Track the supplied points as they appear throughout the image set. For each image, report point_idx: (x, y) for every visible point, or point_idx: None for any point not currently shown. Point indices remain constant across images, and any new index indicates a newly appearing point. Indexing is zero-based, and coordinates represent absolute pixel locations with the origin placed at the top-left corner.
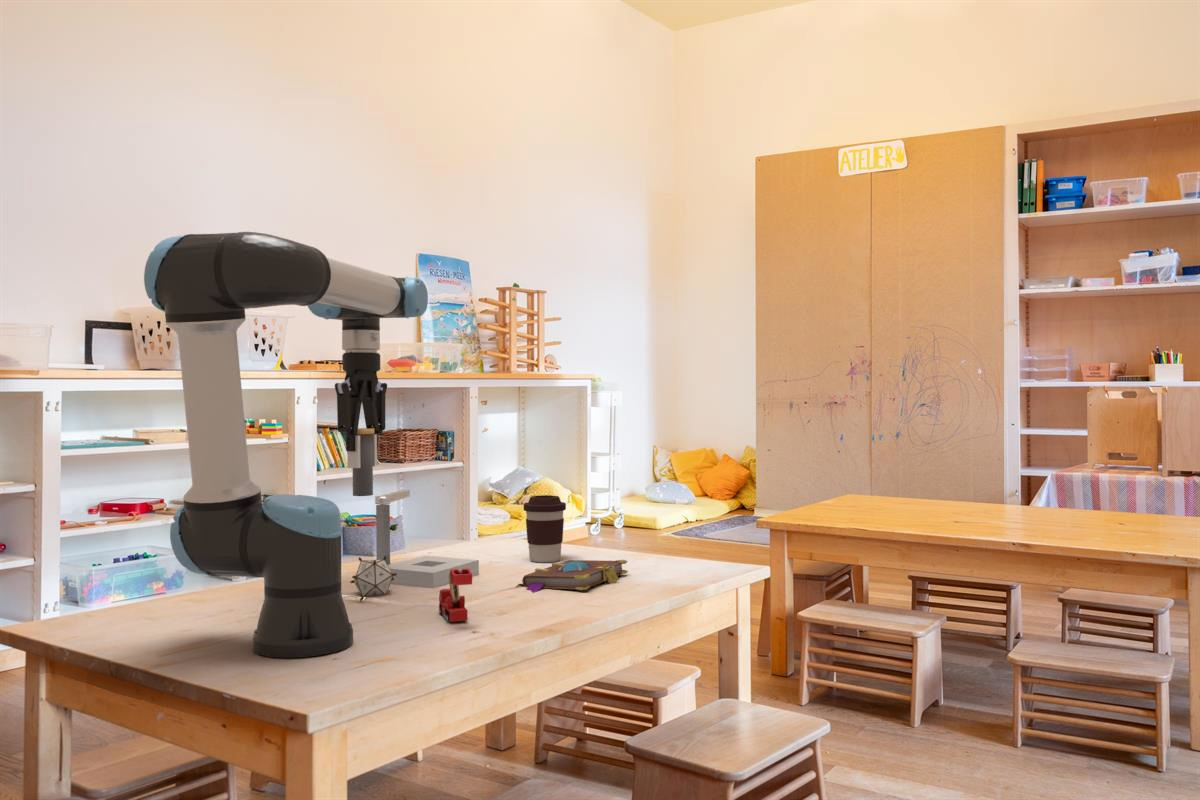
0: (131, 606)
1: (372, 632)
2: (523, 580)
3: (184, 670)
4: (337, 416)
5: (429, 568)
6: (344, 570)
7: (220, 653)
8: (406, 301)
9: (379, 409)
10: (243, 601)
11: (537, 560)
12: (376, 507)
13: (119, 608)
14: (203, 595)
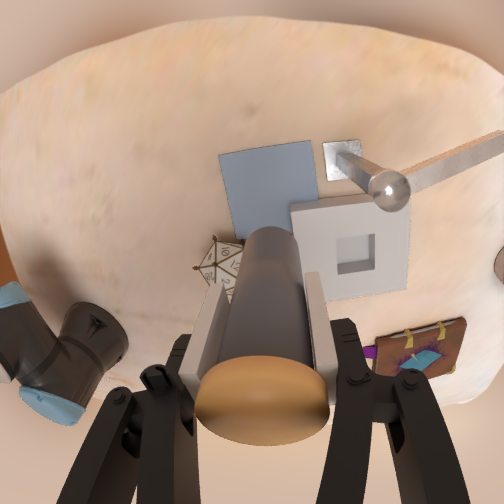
0: (46, 75)
1: (149, 345)
2: (377, 342)
3: (37, 309)
4: (82, 445)
5: (325, 281)
6: (353, 56)
7: (54, 299)
8: None
9: (404, 500)
10: (119, 135)
11: (495, 264)
12: (371, 175)
13: (38, 78)
14: (110, 64)
